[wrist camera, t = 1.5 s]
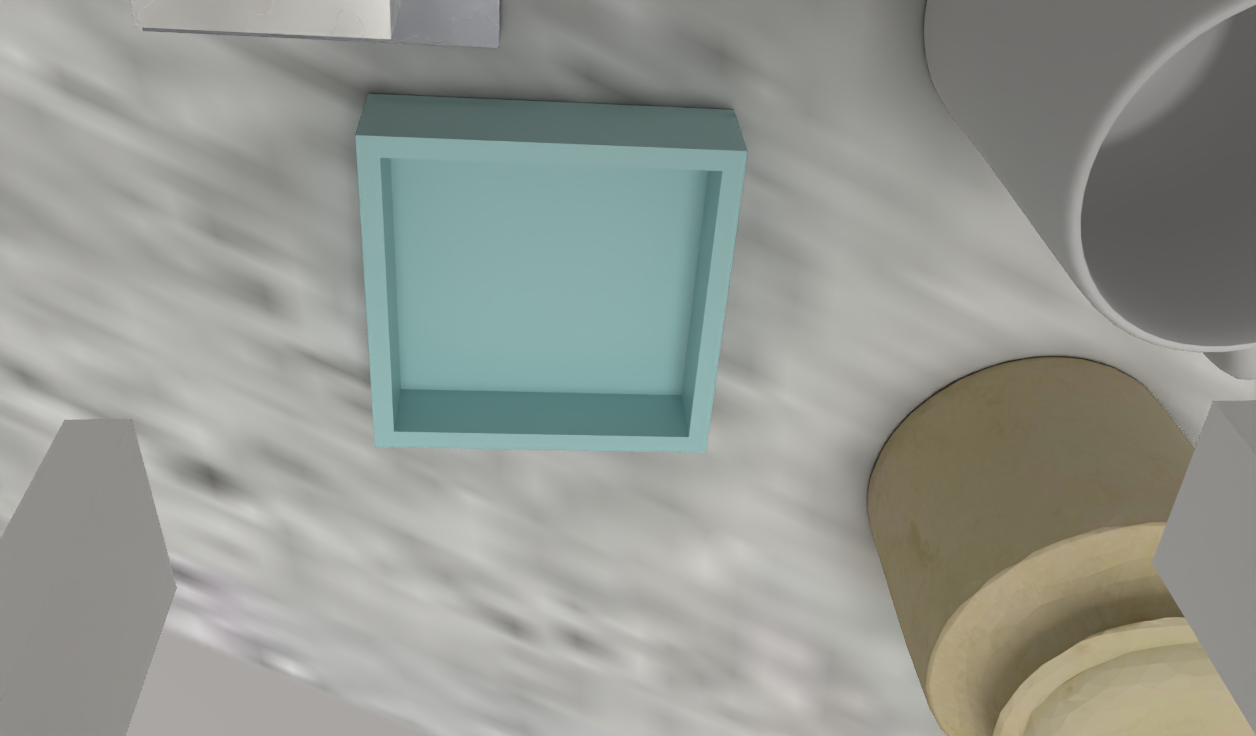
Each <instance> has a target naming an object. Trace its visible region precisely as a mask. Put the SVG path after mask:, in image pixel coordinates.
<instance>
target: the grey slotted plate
mask: <svg viewBox="0 0 1256 736" xmlns="http://www.w3.org/2000/svg"><path fill="white" fill-rule="evenodd" d="M142 28H143V31H156V32H176V33H197V34H218V35H239V36H260V37H281V38H301V39H322V40H343V41H364V42H385V43H405V44H426V45H447V46H468V47H489V48H499V40H500V0H403V1H402V4H401V8H400V11H399V14H398V18H397V21H396V25H395V28H394V31H393V35H392V38H391V39H372V38H351V37H331V36H310V35H289V34H269V33H248V32H227V31H206V30H186V29H165V28H144V27H142Z"/></svg>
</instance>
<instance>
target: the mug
mask: <svg viewBox="0 0 1256 736" xmlns="http://www.w3.org/2000/svg"><path fill="white" fill-rule="evenodd" d="M924 44H925V55H926V60H927V65H928V69H929V73H930V76H931V79H932V81H933V84H934V86H935V89H936V91H937V93H938V95H939V97H940V99H941V100H942V102H943V104H944V105H945V107H946V109H947V111H948V112H949V114H950V115H951V116H952V118H953V119H954V120H955V121H956V123H957V124H958V125H959V126H960V128H961V129H962V130H963V131H964V132H965V134H966V135H967V136H968V137H969V139H970V140H971V141H972V143H973V144H974V145H975V146H976V148H977V149H978V150H979V152H980V153H981V154H982V156H983V157H984V159H985V160H986V161H987V163H988V164H989V165H990V167H991V168H992V170H993V171H994V172H995V174H996V175H997V177H998V178H999V179H1000V181H1001V182H1002V184H1003V185H1004V186H1005V188H1006V189H1007V190H1008V192H1009V193H1010V195H1011V196H1012V197H1013V199H1014V200H1015V202H1016V203H1017V204H1018V206H1019V207H1020V208H1021V210H1022V211H1023V213H1024V214H1025V215H1026V217H1027V218H1028V220H1029V221H1030V222H1031V224H1032V225H1033V227H1034V228H1035V229H1036V231H1037V232H1038V233H1039V235H1040V236H1041V238H1042V239H1043V240H1044V242H1045V243H1046V245H1047V246H1048V247H1049V249H1050V250H1051V252H1052V253H1053V254H1054V256H1055V257H1056V258H1057V260H1058V261H1059V263H1060V264H1061V265H1062V267H1063V268H1064V270H1065V271H1066V272H1067V274H1068V275H1069V277H1070V278H1071V279H1072V281H1073V282H1074V283H1075V285H1076V286H1077V287H1078V288H1079V290H1080V291H1081V292H1082V293H1083V294H1084V296H1085V297H1086V298H1087V299H1088V300H1089V302H1090V303H1091V304H1092V305H1093V306H1094V308H1096V309H1097V310H1098V311H1099V312H1100V313H1101V314H1102V315H1104V316H1105V317H1106V318H1107V319H1108V320H1110V321H1111V322H1112V323H1113V324H1114V325H1116V326H1118V327H1119V328H1121V329H1123V330H1124V331H1126V332H1128V333H1129V334H1131V335H1133V336H1135V337H1138V338H1140V339H1142V340H1145V341H1147V342H1150V343H1152V344H1155V345H1159V346H1163V347H1167V348H1171V349H1175V350H1183V351H1192V352H1203V353H1204V354H1205V356H1206V357H1207V358H1208V359H1209V360H1210V361H1211V362H1212V363H1214V364H1215V365H1216V366H1217V367H1218V368H1219V369H1221V370H1222V371H1224V372H1226V373H1228V374H1230V375H1231V376H1233V377H1235V378H1237V379H1245V380H1253V379H1256V0H927V5H926V11H925V19H924Z"/></svg>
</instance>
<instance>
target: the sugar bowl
mask: <svg viewBox="0 0 1256 736" xmlns="http://www.w3.org/2000/svg"><path fill="white" fill-rule="evenodd" d="M1194 450H1195V448H1194V447H1193V445H1192V444H1191V443H1190V442H1189V440H1188V439H1187V438H1186V436H1185V435H1184V434H1183V433H1182V431H1181V430H1180V429H1179V427H1178V426H1177V425H1176V424H1175V422H1174V421H1173V420H1172V418H1171V417H1170V416H1169V415H1168V413H1167V412H1166V411H1165V409H1164V408H1163V407H1162V405H1161V404H1160V403H1159V402H1158V401H1157V400H1156V398H1155V397H1154V396H1153V395H1152V394H1151V393H1150V392H1149V390H1148V389H1147V388H1146V387H1144V386H1143V385H1142V384H1141V383H1139V382H1138V381H1137V380H1135V379H1133V378H1131V377H1130V376H1128V375H1126V374H1124V373H1122V372H1120V371H1118V370H1117V369H1115V368H1113V367H1109V366H1106V365H1102V364H1099V363H1095V362H1092V361H1088V360H1085V359H1075V358H1062V357H1042V358H1030V359H1023V360H1018V361H1013V362H1008V363H1004V364H1000V365H996V366H993V367H989V368H987V369H984V370H982V371H979V372H977V373H974V374H972V375H970V376H967V377H965V378H963V379H961V380H959V381H957V382H955V383H954V384H952V385H950V386H949V387H947V388H945V389H944V390H942V391H940V392H939V393H937V394H936V395H934V396H932V397H931V398H930V399H928V400H927V401H926V402H925V403H923V404H922V405H921V406H920V407H918V408H917V409H916V410H915V411H914V412H912V413H911V414H910V415H909V416H908V417H907V418H906V419H905V420H904V421H903V423H902V424H901V425H900V426H899V427H898V428H897V429H896V431H895V432H894V433H893V434H892V436H891V437H890V439H889V440H888V442H887V443H886V445H885V446H884V448H883V449H882V452H881V454H880V456H879V458H878V461H877V463H876V465H875V468H874V470H873V473H872V476H871V478H870V483H869V490H868V497H867V508H868V516H869V523H870V527H871V531H872V535H873V538H874V541H875V544H876V548H877V551H878V554H879V557H880V561H881V564H882V567H883V570H884V574H885V577H886V580H887V583H888V587H889V590H890V594H891V597H892V600H893V604H894V607H895V610H896V613H897V616H898V620H899V623H900V626H901V629H902V632H903V635H904V639H905V642H906V645H907V648H908V650H909V653H910V656H911V659H912V661H913V664H914V667H915V669H916V672H917V675H918V678H919V680H920V683H921V686H922V689H923V691H924V694H925V697H926V700H927V703H928V705H929V708H930V710H931V711H932V713H933V715H934V717H935V719H936V721H937V723H938V724H939V726H940V728H941V729H942V730H943V731H944V732H945V733H946V734H947V735H948V736H1256V735H1255V733H1254V732H1253V730H1252V728H1251V727H1250V725H1249V723H1248V722H1247V720H1246V718H1245V717H1244V715H1243V713H1242V712H1241V710H1240V708H1239V707H1238V705H1237V703H1236V702H1235V700H1234V698H1233V697H1232V695H1231V694H1230V692H1229V690H1228V689H1227V687H1226V685H1225V684H1224V682H1223V680H1222V679H1221V677H1220V675H1219V674H1218V672H1217V670H1216V669H1215V667H1214V665H1213V664H1212V662H1211V660H1210V659H1209V657H1208V655H1207V654H1206V652H1205V650H1204V649H1203V647H1202V645H1201V644H1200V642H1199V640H1198V639H1197V637H1196V635H1195V634H1194V632H1193V630H1192V629H1191V627H1190V625H1189V624H1188V622H1187V620H1186V619H1185V617H1184V615H1183V614H1182V612H1181V610H1180V609H1179V607H1178V605H1177V604H1176V602H1175V600H1174V599H1173V597H1172V595H1171V594H1170V592H1169V590H1168V589H1167V587H1166V585H1165V584H1164V582H1163V580H1162V579H1161V577H1160V575H1159V574H1158V572H1157V570H1156V569H1155V567H1154V565H1153V564H1152V561H1153V558H1154V556H1155V553H1156V550H1157V548H1158V545H1159V542H1160V540H1161V537H1162V534H1163V532H1164V529H1165V527H1166V524H1167V521H1168V519H1169V516H1170V513H1171V511H1172V508H1173V506H1174V503H1175V500H1176V498H1177V495H1178V492H1179V490H1180V487H1181V485H1182V482H1183V479H1184V477H1185V474H1186V471H1187V469H1188V466H1189V463H1190V461H1191V458H1192V456H1193V453H1194Z"/></svg>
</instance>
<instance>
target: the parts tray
mask: <svg viewBox="0 0 1256 736" xmlns="http://www.w3.org/2000/svg"><path fill="white" fill-rule="evenodd" d="M355 139H356V155H357V171H358V187H359V203H360V219H361V235H362V251H363V267H364V283H365V299H366V315H367V331H368V347H369V363H370V379H371V395H372V411H373V426H374V442H375V447H409V448H467V449H524V450H582V451H639V452H697V453H706V447H707V440H708V433H709V426H710V418H711V411H712V404H713V397H714V390H715V382H716V375H717V368H718V361H719V354H720V346H721V339H722V332H723V325H724V318H725V311H726V303H727V296H728V289H729V282H730V275H731V267H732V260H733V253H734V246H735V239H736V231H737V224H738V217H739V210H740V203H741V195H742V188H743V181H744V174H745V167H746V159H747V152H748V151H747V148H746V145H745V142H744V139H743V136H742V133H741V130H740V127H739V125H738V122H737V119H736V116H735V113H734V110H730V109H707V108H684V107H661V106H639V105H616V104H593V103H571V102H548V101H525V100H503V99H480V98H457V97H435V96H412V95H389V94H368V95H367V99H366V102H365V105H364V108H363V112H362V115H361V118H360V121H359V125H358V128H357V131H356V134H355Z"/></svg>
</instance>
